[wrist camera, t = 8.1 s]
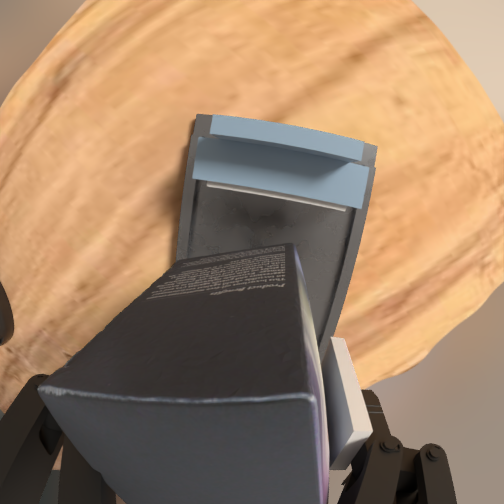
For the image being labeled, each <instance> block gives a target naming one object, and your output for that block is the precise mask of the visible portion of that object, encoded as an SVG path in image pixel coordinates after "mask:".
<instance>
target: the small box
mask: <svg viewBox="0 0 504 504" xmlns="http://www.w3.org/2000/svg"><path fill="white" fill-rule="evenodd" d="M37 390H38V394H39V395H40V397H41V399H42V400H43V402H44V403H45V405H46V407H47V408H48V410H49V411H50V413H51V414H52V416H53V417H54V419H55V420H56V422H57V423H58V425H59V426H60V428H61V429H62V430H63V432H64V433H65V434H66V436H67V437H68V438H69V439H70V441H71V442H72V443H73V445H74V446H75V447H76V449H77V450H78V451H79V453H80V454H81V455H82V456H83V457H84V458H85V460H86V461H87V462H88V463H89V465H90V466H91V467H92V468H93V469H94V470H96V471H98V472H100V473H101V474H102V477H103V478H104V480H105V482H106V484H107V485H108V486H109V487H110V488H111V489H112V490H113V491H114V492H115V493H116V494H117V495H118V496H119V497H120V498H121V499H123V501H124V502H125V503H126V504H328V493H329V440H328V428H327V415H326V404H325V395H324V386H323V378H322V371H321V364H320V358H319V352H318V346H317V340H316V335H315V329H314V323H313V317H312V312H311V307H310V302H309V297H308V293H307V288H306V283H305V279H304V275H303V271H302V267H301V263H300V260H299V256H298V253H297V249H296V246H295V244H294V243H284V244H277V245H269V246H262V247H257V248H250V249H243V250H238V251H231V252H225V253H218V254H213V255H207V256H199V257H193V258H187V259H181V260H177V261H176V262H175V263H174V265H173V266H172V267H171V268H170V269H169V270H168V271H167V272H165V273H164V274H163V275H162V277H160V278H159V279H157V280H156V281H155V282H154V283H153V284H152V285H151V286H150V287H149V288H148V289H146V290H145V291H144V292H143V293H142V294H141V295H139V297H137V298H136V299H135V300H134V301H133V302H132V303H131V304H130V305H129V306H127V307H126V308H125V309H124V310H123V311H122V312H120V313H119V314H118V315H117V316H116V317H115V318H114V319H113V320H112V321H111V322H110V323H109V324H108V325H106V327H105V328H104V330H103V331H101V332H99V333H98V334H97V335H96V336H95V337H94V338H93V339H92V340H91V341H90V342H89V343H88V344H87V345H86V346H85V347H84V348H83V349H82V350H81V351H79V352H77V353H76V354H75V355H74V356H73V357H72V358H71V359H70V360H69V361H67V363H66V364H65V365H64V366H63V367H61V368H59V369H58V370H56V371H55V372H54V373H53V374H51V375H50V376H49V377H48V378H47V379H46V380H45V381H44V382H43V383H42V384H41V385H40V386H39V387H38V389H37Z"/></svg>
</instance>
